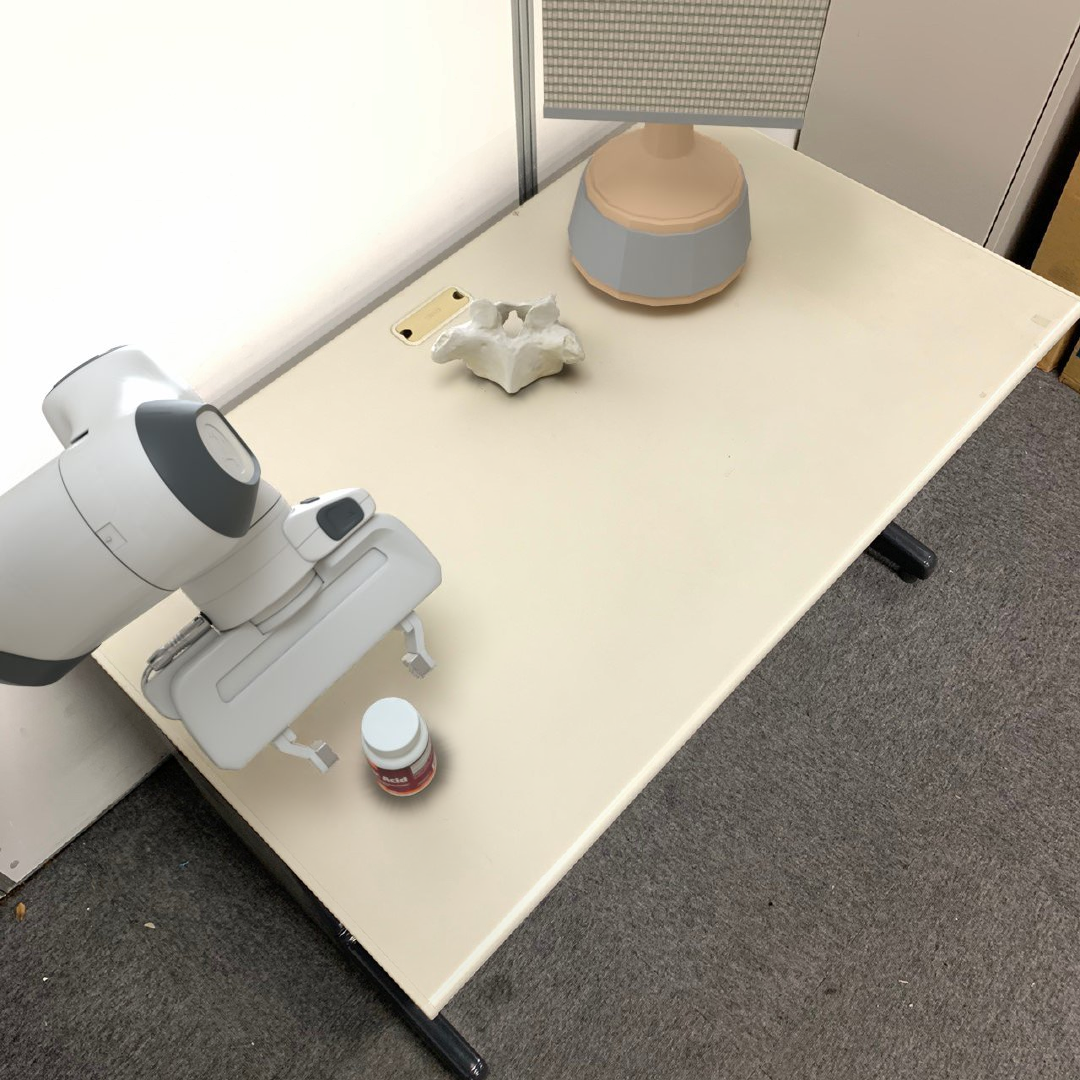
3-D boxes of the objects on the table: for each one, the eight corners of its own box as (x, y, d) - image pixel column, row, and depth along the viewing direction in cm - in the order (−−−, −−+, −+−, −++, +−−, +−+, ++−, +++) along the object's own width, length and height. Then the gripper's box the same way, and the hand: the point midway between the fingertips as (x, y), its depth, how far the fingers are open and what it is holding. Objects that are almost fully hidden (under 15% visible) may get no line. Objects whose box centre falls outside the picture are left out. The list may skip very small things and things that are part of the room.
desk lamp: (758, 205, 110) (831, -176, 80) (760, 327, 100) (846, -57, 69) (563, 195, 112) (561, -181, 82) (546, 315, 102) (536, -65, 71)
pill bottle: (362, 780, 75) (341, 737, 68) (396, 727, 77) (379, 680, 70) (416, 809, 74) (400, 768, 67) (449, 754, 76) (436, 709, 69)
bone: (580, 392, 97) (590, 342, 90) (440, 416, 95) (438, 367, 88) (558, 320, 101) (565, 266, 94) (422, 341, 99) (419, 288, 91)
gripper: (132, 682, 59) (279, 839, 64) (382, 473, 67) (496, 626, 72) (117, 671, 65) (253, 816, 69) (350, 479, 73) (458, 620, 77)
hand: (379, 718), depth 71 cm, fingers open, 8 cm apart
